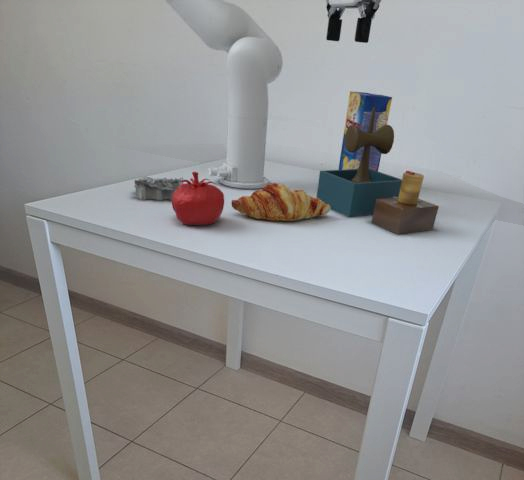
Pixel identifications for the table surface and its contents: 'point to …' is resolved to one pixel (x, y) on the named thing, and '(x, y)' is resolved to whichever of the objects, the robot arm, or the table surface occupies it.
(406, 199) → the tap knob
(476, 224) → the table surface
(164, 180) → the grey flat jagged block
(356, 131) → the kendama
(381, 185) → the teal open box
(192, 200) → the red tomato
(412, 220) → the block
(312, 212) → the croissant
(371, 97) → the beverage box
